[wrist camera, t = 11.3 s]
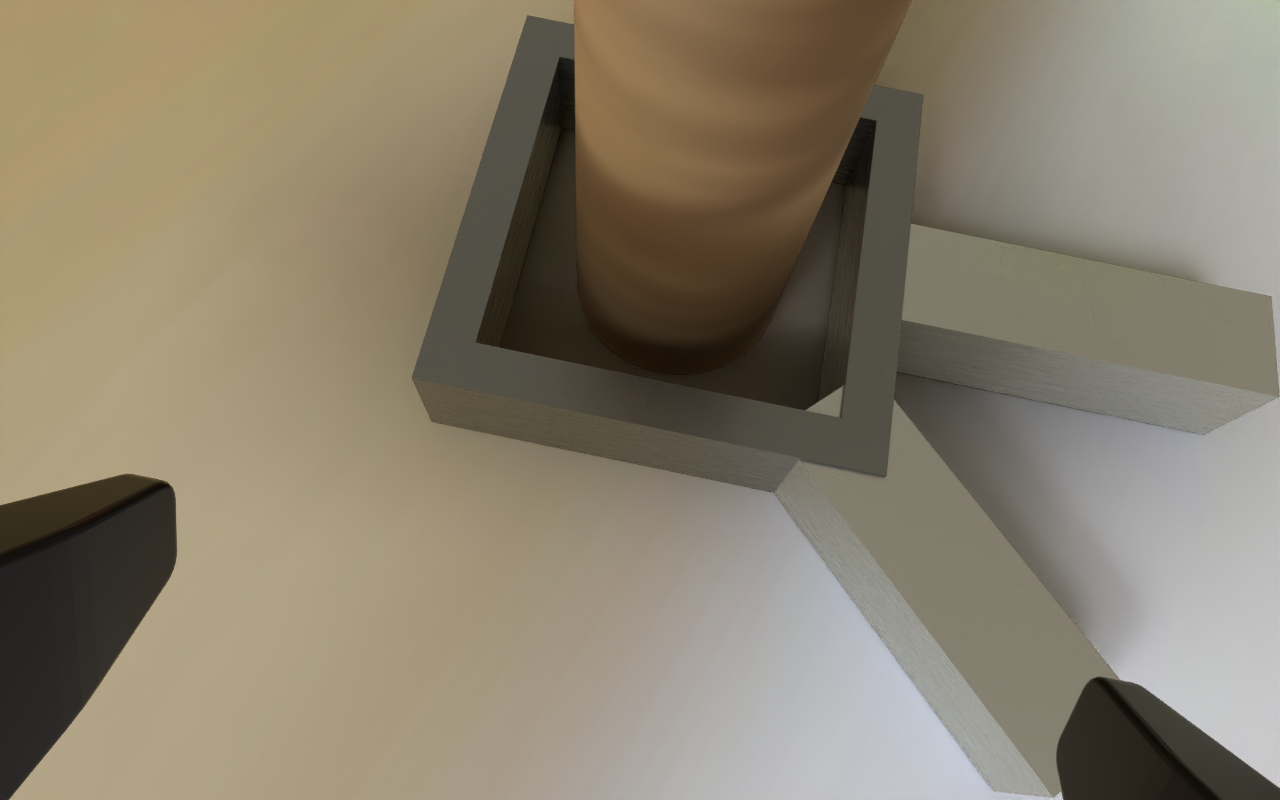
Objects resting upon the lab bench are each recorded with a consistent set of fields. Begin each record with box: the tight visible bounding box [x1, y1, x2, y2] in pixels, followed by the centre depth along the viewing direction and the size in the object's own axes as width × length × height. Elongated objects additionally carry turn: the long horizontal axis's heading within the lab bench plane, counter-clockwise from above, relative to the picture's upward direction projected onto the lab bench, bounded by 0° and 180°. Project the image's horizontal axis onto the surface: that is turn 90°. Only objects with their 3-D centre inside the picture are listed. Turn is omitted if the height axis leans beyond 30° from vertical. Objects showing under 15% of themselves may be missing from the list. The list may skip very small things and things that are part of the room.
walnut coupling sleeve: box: [574, 0, 912, 375], centre depth 15 cm, size 5×5×13 cm
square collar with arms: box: [412, 15, 1279, 798], centre depth 19 cm, size 14×17×2 cm
